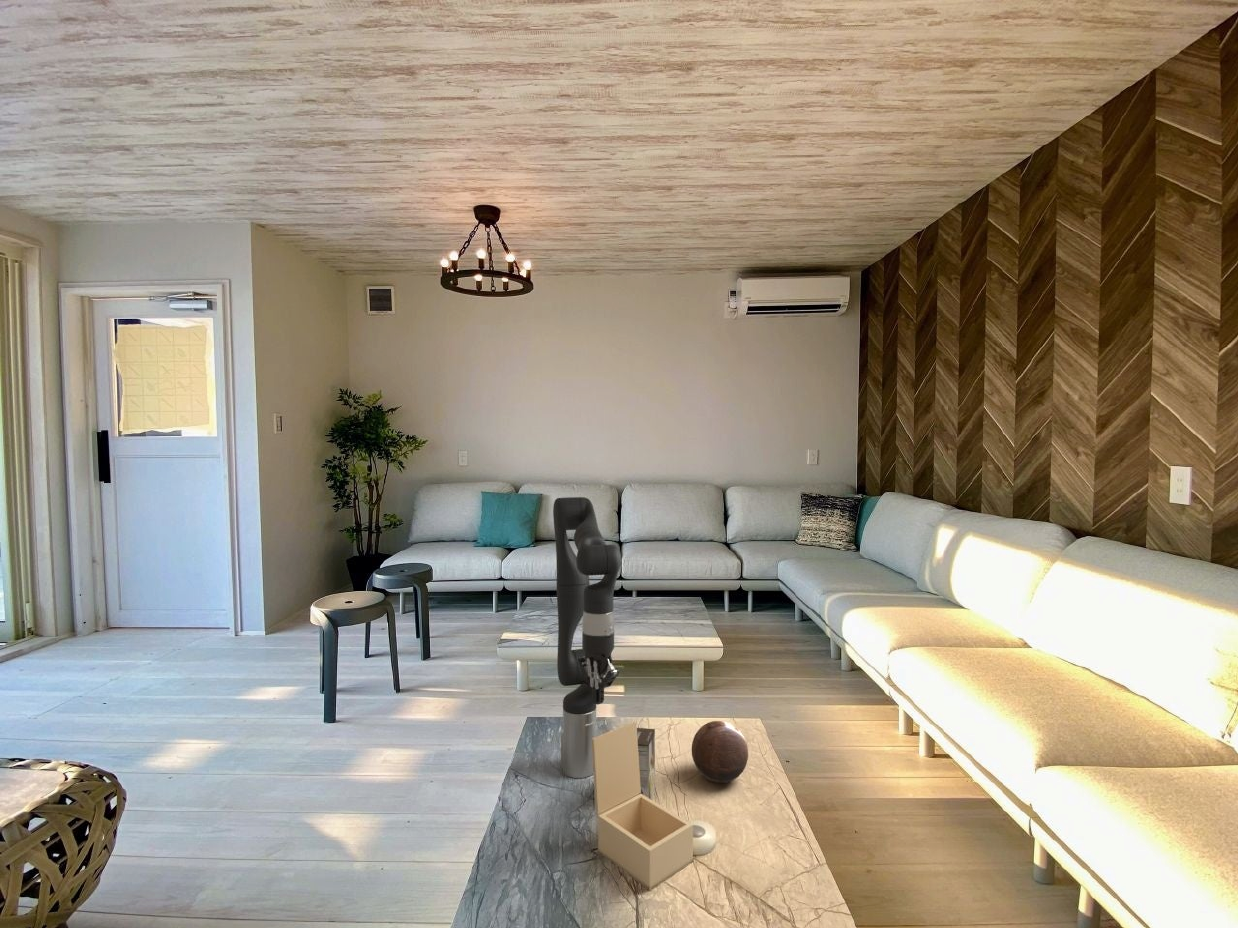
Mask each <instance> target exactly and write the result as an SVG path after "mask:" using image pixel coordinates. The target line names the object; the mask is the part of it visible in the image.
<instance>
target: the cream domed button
mask: <svg viewBox="0 0 1238 928" xmlns="http://www.w3.org/2000/svg"><path fill="white" fill-rule="evenodd" d="M685 820H686V819H685ZM686 821H688V822H689V823H691V824H693V856H703V855H708V854H710V853H712V852H713V851H714V850H715V848H716V846H717V843H716V842H717V841H716V840H717V838H716V837H717V832H716V830H715V827H714V826H713V825H711V824H710V823H708V822H706V821H704V820H702V819H701V820H700V819H687V820H686Z"/></svg>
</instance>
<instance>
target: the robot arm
mask: <svg viewBox="0 0 1238 928" xmlns="http://www.w3.org/2000/svg"><path fill="white" fill-rule="evenodd" d="M552 507H553V509H552V517H553V530H554V531H553V532H554V540H555V541H554V542H555V552H556V554H555V555H556V557H555V559H556V603H557V621H558V622H557V624H558V629H557V631H558V633H557V657H556V658H557V661H556V662H557V663H556V664H557V667H556V668H557V677H558V681H559V683H560V685H562V686H564V687H568V686H569V687H570V686H577V685H578V687H577V688H576V689H574V690H572V691H571V692H569V693H567V694H566V695H565V696H564V697H563V700H562V731H561V733H560V768H561V769H562V772H563V774H564V775H566V776H567V777H570V778H574V779H575V778H576V779H583V778H588V777H590V776H592V775H594V772H593V755H592V738H595V737H597V706H598V705H601V704H603V703H604V701H605V688H609V687H611V686H612V684H613V683H614V681H615V680H616V678H617V677H618V675H619V674H620V669H619V668H617V667H616V668H615V667H614V665H613V658H612V652H613V651H614V649H615V615H614V592H615V587H616V582H617V578H618V575H619V572H620V569H621V565H622V554H621V551H620V549H619V548H618V547H617V545H614V544H606V541H605V539H604V537H603V535H602V534H601V532H600V530H599V527H598V526H599V525H598V521H597V516H596V512H595V509H594V505H593V503H592V501H591V500H590V498H588V497H584V496H583V497H582V496H579V497H578V496H577V497H574V496H571V497H557V498H556V499H555V500H554V502H553V506H552ZM567 531H574V534H573V543H574V545H575V547H576V549H577V554H576V553H575V552H574V550H573V548H572V546H571V544H570V541H569V539H568V534H567ZM589 576H603V577H602V578H601V580H600V581H598V582H596V583H593V584H591V582H590V577H589ZM581 620H582V626H581V627H582V628H581V629H582V630H581V631H582V633H581V634H582V635H581V637H582V639H581V640H582V641H581V642H582V643H581V645H582V648H579V649H577V648H576V649H572V647H573V641H574V640H573V639H574V637H575V632H576V630H577V627H578V626H579V624H580V621H581Z"/></svg>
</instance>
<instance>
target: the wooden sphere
mask: <svg viewBox="0 0 1238 928" xmlns="http://www.w3.org/2000/svg"><path fill="white" fill-rule="evenodd" d="M747 744H748V743H747V741H746V739H745V736H744V735H743V733H742V732H741V731H740V730H739V729H738V728H737V727H736V726H735V725H733V724H732V723H729V722H727V721H722V720H713V721H710V722H707V723H705V724H703V725H702V726H701V727H700V728H699V729H698V730H697V731H696V733H695V734H694V736H693V739H692V743H691V757H692V761H693V763H694V765H695V767H696V769H697V771H699V773H700V774H701V775H702V776H704V777H705V778H706V779H707V780H710V781H712V782H715V783H720V784H721V783H729V782H731V781H734V780H736V779H737V778H738V777H740V776H741V774H742V773H744V770H745V769H746V766H747V764H748V760H749V748H748V745H747Z"/></svg>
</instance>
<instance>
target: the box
mask: <svg viewBox="0 0 1238 928" xmlns="http://www.w3.org/2000/svg"><path fill="white" fill-rule="evenodd" d="M597 815H598V816H597V817H598V819H597V820H598V821H597V822H598V824H597V829H598V830H597V839H598V841H597V844H598V845H597V852H598V853H599V854H600V855H602V856H603V857H604V858H605V859H607V860H609V861H610V862H611V863H612V864H614V865H615V866H616V867H618V868H619V869H621V871H623V872H624V873H625V874H627V875H629V877H631V878H632V879H633V880H635V881H636V882H638V883H639V884H640V885H642V886H643V887H644V888H646V889H647V890H648V891H651V890H653V889H654V888H656V887H658V886H659V885H660V884H662V883H664V882H665V881H667V880H668V879H669V878H671V877H673V876H674V875H676V874H677V873H678V872H680V871H682V870H683V869H684V868H686V867H687V866H689V865H690V864H692V863H693V862H694V855H693V824H691V823H689V822H688V821H686V819H684V818H683V817H681V816H679V815H678V814H676V813H674V812H673V811H671V810H669V809H667V808H666V807H664V806H662V805H661V804H659V803H657V802H656V801H654V800H653V799H652V800H651V799H649V798H647V797H646V796H644V795H642V794H639V795H637V796H635V797H633V798H631V799H629V800H628V801H626V802H625V801H624V802H622V803H620V804H618V805H616V806H614V807H612V808H610V809H608V810H606V811H604V812H602V813H600V814H597Z"/></svg>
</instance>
